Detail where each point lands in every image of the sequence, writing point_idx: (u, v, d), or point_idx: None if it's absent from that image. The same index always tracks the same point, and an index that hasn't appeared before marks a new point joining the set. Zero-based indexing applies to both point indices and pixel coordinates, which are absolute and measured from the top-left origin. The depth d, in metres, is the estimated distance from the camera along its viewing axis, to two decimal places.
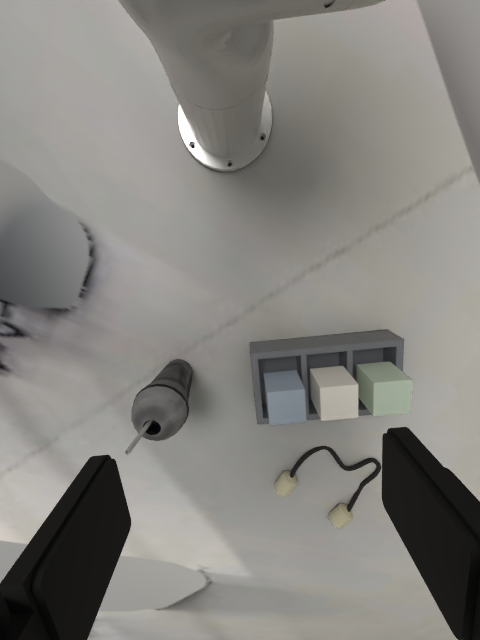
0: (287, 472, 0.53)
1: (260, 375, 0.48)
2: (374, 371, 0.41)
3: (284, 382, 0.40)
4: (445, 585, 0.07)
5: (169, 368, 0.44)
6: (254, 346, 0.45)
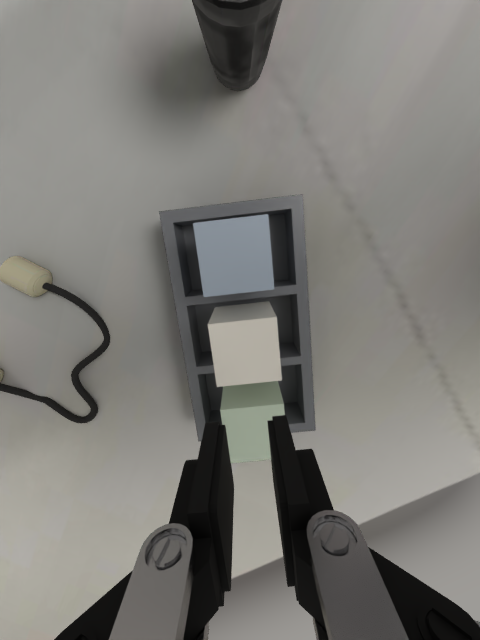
0: (50, 278, 0.30)
1: None
2: None
3: None
4: (282, 543, 0.08)
5: None
6: None
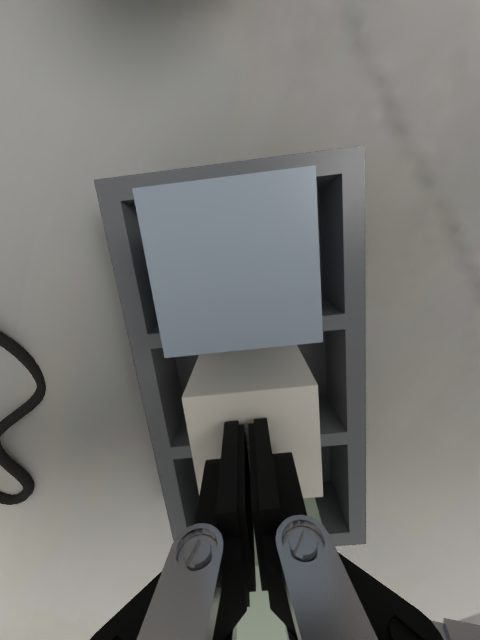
0: None
1: None
2: None
3: None
4: None
5: None
6: None
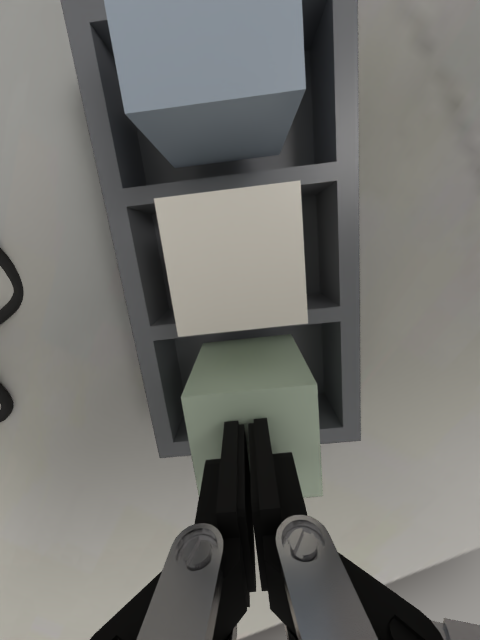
0: None
1: None
2: None
3: None
4: None
5: None
6: None
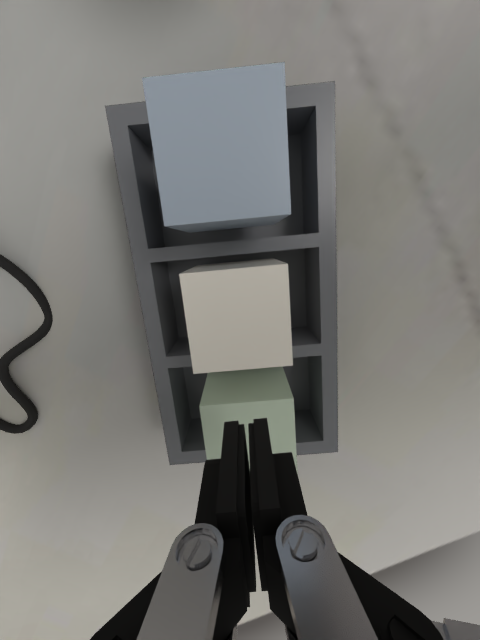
0: None
1: None
2: None
3: None
4: None
5: None
6: None
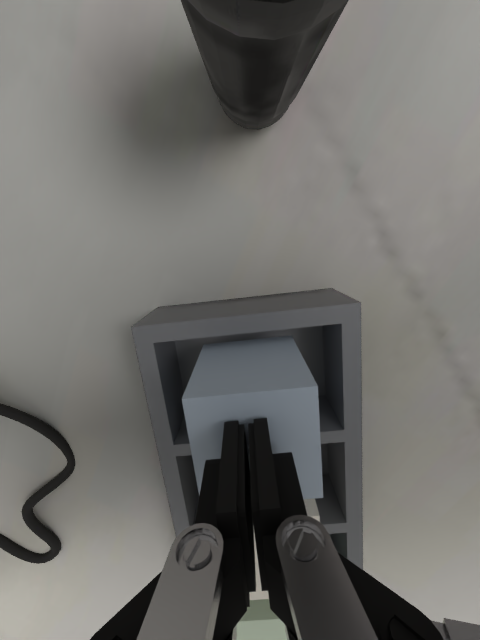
0: None
1: None
2: None
3: None
4: None
5: None
6: None
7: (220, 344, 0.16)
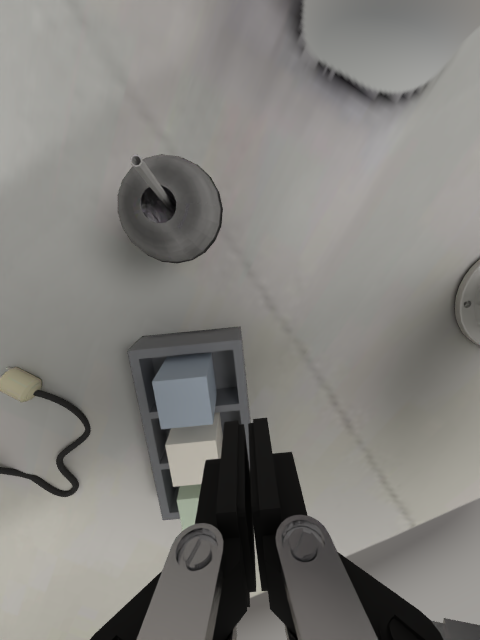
0: (40, 385, 0.35)
1: None
2: None
3: (212, 390, 0.29)
4: None
5: None
6: None
7: (175, 357, 0.32)
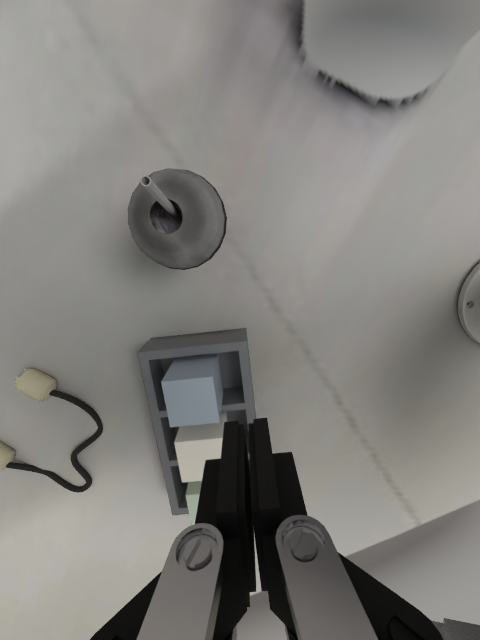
0: (55, 385, 0.37)
1: None
2: None
3: (218, 390, 0.31)
4: None
5: None
6: None
7: (182, 358, 0.33)
